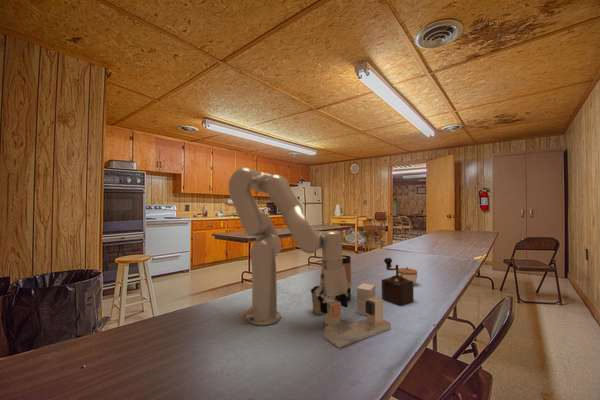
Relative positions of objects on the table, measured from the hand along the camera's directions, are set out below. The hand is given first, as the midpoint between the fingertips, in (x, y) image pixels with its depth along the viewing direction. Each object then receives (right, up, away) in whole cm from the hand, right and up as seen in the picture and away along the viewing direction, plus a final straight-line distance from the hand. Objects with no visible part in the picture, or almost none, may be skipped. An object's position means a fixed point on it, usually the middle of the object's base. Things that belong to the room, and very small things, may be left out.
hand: (334, 309), depth 99 cm
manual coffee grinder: (+31, -6, +26) cm, 41 cm away
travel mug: (+7, -6, +25) cm, 27 cm away
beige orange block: (-1, -5, 0) cm, 5 cm away
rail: (+7, -5, -8) cm, 12 cm away
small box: (+15, -6, +11) cm, 19 cm away
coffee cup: (-5, -6, +10) cm, 13 cm away
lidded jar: (+47, -6, +48) cm, 68 cm away
